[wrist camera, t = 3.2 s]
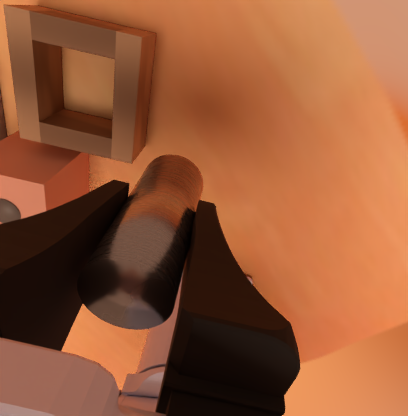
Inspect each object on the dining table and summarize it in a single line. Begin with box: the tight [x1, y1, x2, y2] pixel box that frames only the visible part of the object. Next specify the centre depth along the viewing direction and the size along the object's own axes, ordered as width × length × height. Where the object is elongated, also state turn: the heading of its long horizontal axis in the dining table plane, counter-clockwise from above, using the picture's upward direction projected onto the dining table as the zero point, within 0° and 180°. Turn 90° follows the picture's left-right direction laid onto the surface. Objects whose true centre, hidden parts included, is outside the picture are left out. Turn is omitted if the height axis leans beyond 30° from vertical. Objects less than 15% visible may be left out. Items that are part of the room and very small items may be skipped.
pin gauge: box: [77, 155, 203, 329], centre depth 12 cm, size 3×3×7 cm
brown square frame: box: [4, 5, 156, 164], centre depth 19 cm, size 7×7×3 cm
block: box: [0, 131, 89, 224], centre depth 21 cm, size 5×5×6 cm
